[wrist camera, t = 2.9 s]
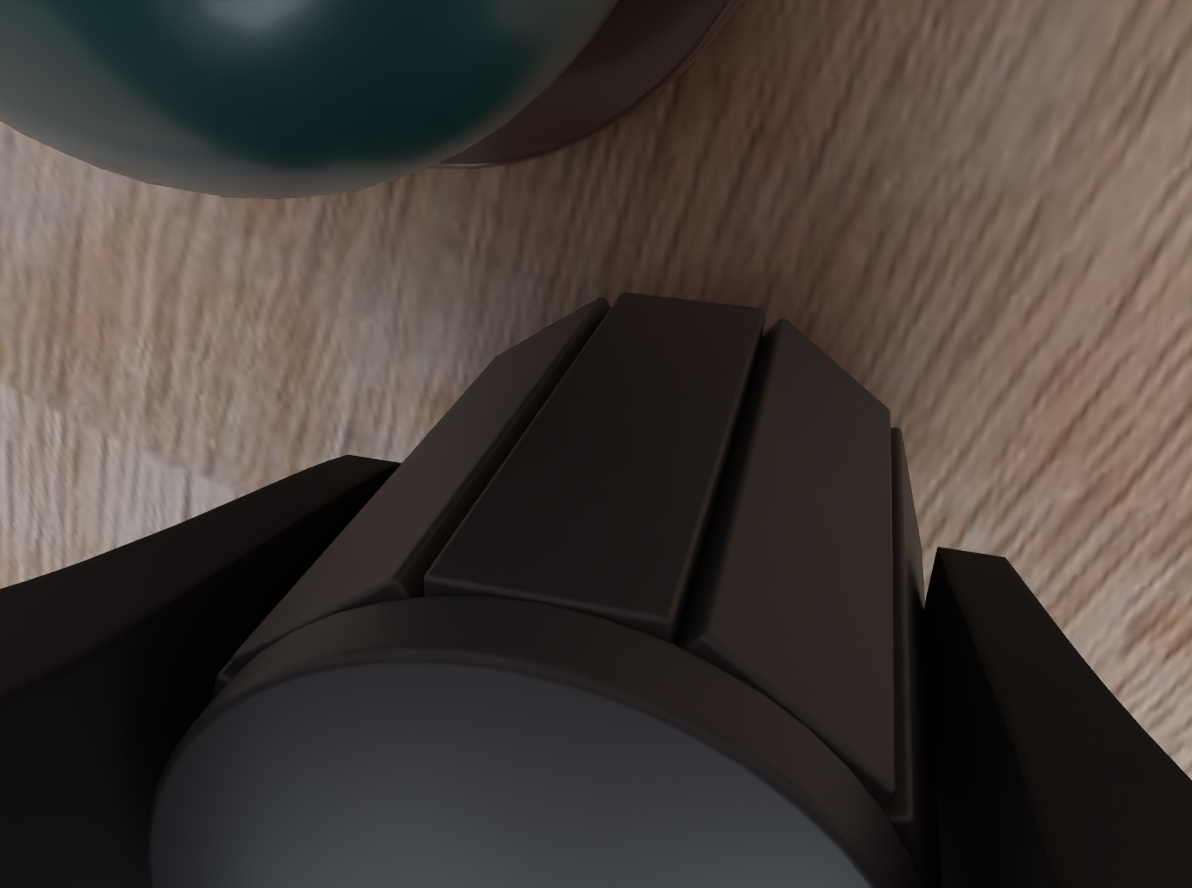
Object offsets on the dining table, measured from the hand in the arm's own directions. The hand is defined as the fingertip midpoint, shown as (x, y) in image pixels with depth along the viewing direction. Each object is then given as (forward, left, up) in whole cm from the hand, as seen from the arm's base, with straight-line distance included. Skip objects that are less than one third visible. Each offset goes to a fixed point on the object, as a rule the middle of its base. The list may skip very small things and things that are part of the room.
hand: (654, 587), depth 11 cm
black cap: (0, 0, -1) cm, 1 cm away
